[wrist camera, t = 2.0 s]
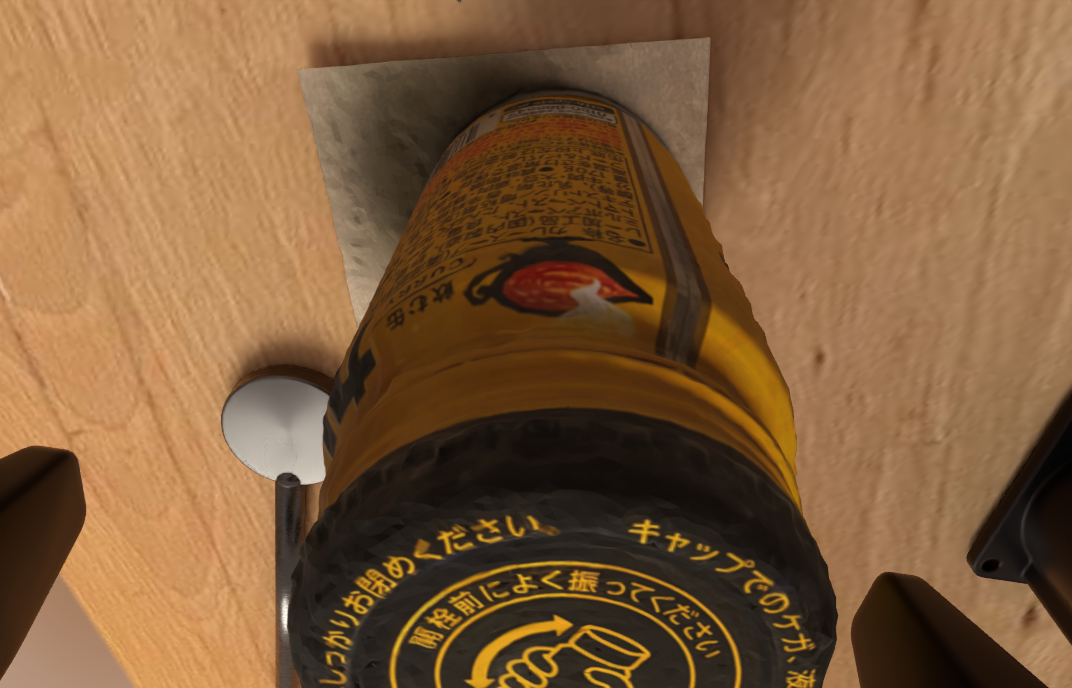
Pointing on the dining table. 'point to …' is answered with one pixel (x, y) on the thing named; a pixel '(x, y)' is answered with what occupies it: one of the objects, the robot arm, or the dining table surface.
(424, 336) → the condiment
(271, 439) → the steel spoon
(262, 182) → the dining table surface
